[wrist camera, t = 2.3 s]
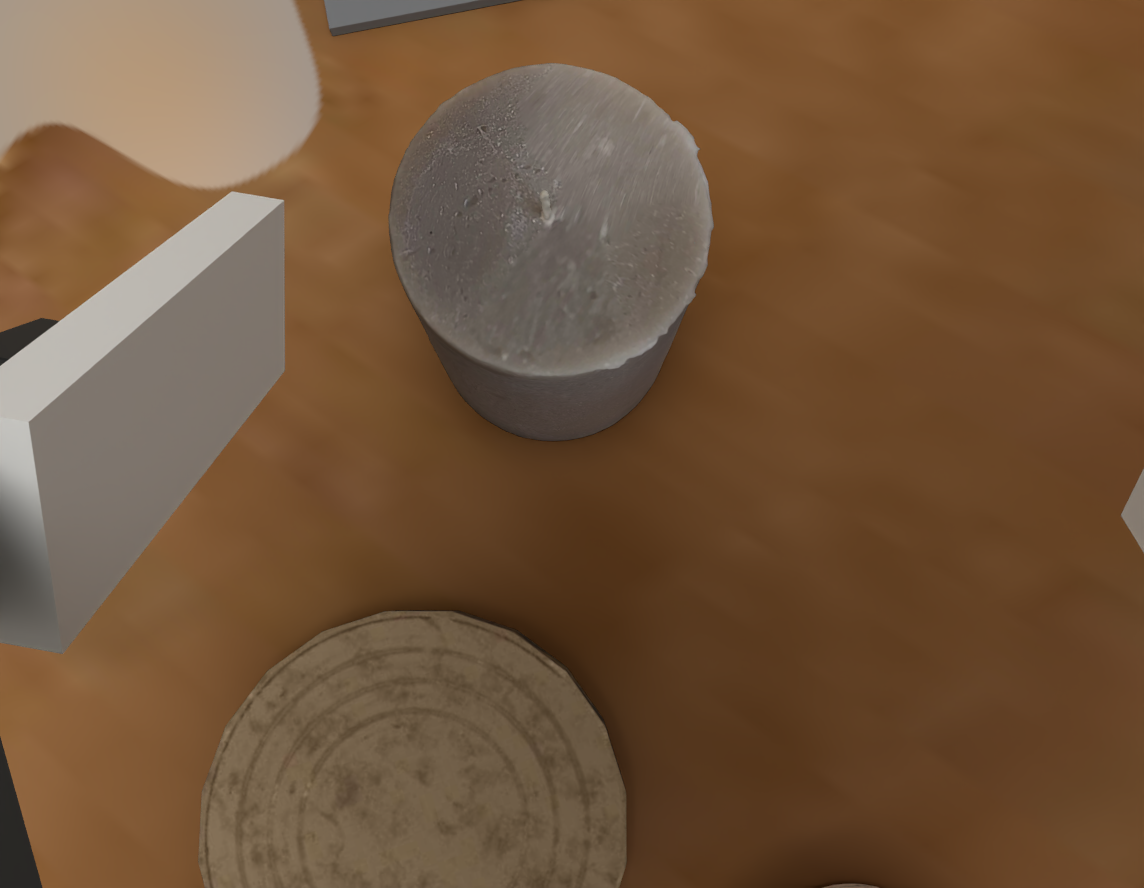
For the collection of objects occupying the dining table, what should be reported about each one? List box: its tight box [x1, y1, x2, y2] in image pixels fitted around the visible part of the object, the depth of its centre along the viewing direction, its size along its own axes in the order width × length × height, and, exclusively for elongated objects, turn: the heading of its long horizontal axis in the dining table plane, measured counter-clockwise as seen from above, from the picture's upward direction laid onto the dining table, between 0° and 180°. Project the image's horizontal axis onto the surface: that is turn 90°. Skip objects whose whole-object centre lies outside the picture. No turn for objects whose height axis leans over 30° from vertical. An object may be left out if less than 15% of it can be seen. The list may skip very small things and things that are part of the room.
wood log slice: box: [198, 610, 627, 888], centre depth 40 cm, size 16×16×3 cm
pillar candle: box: [389, 63, 714, 441], centre depth 37 cm, size 10×10×15 cm
